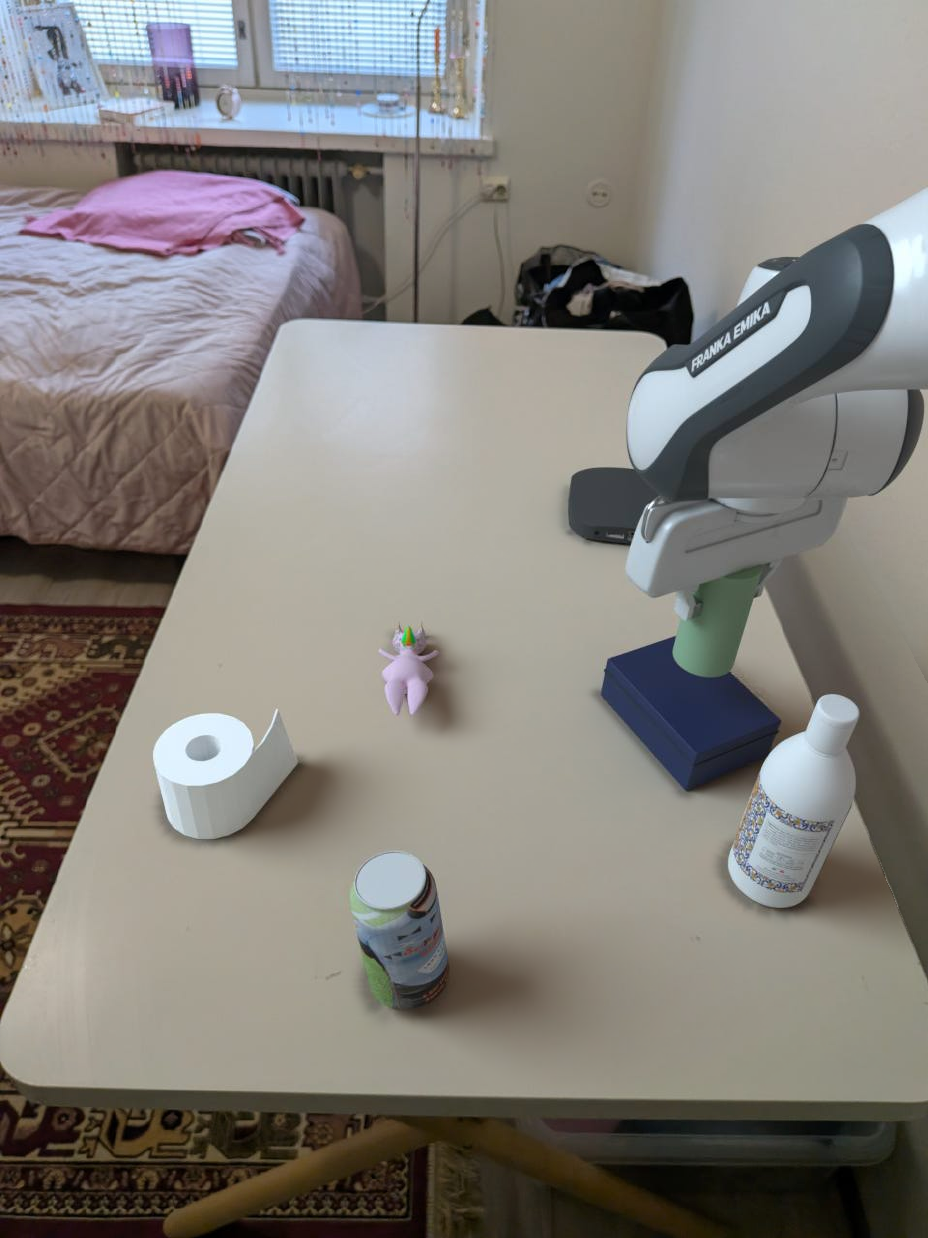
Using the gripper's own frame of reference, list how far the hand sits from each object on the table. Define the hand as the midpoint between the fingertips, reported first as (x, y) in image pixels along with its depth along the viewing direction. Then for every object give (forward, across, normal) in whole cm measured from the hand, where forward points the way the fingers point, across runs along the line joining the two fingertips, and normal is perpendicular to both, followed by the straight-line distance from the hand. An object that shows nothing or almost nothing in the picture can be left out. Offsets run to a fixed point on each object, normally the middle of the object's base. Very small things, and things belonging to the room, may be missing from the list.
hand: (717, 604), depth 82 cm
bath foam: (+16, -4, -17) cm, 24 cm away
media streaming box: (+15, +17, +34) cm, 41 cm away
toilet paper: (+16, -42, +10) cm, 46 cm away
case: (+15, 0, 0) cm, 15 cm away
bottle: (+6, 0, 0) cm, 6 cm away
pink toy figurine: (+15, -22, +17) cm, 32 cm away
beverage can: (+16, -36, -12) cm, 41 cm away
